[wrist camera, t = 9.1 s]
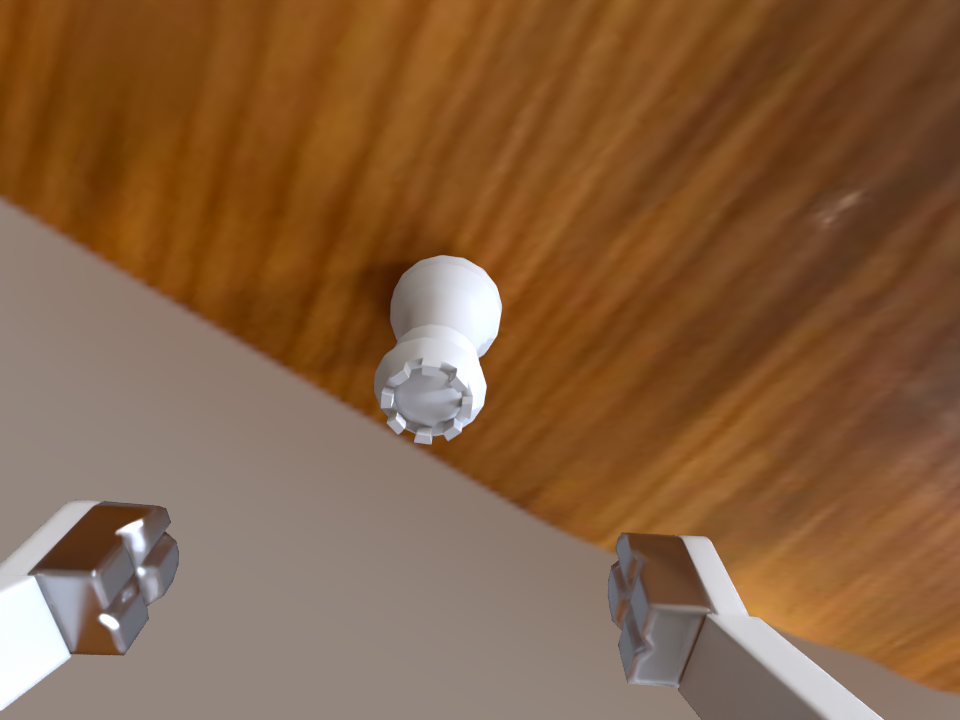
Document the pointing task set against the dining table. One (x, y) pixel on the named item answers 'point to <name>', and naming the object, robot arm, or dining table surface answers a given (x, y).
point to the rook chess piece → (438, 347)
